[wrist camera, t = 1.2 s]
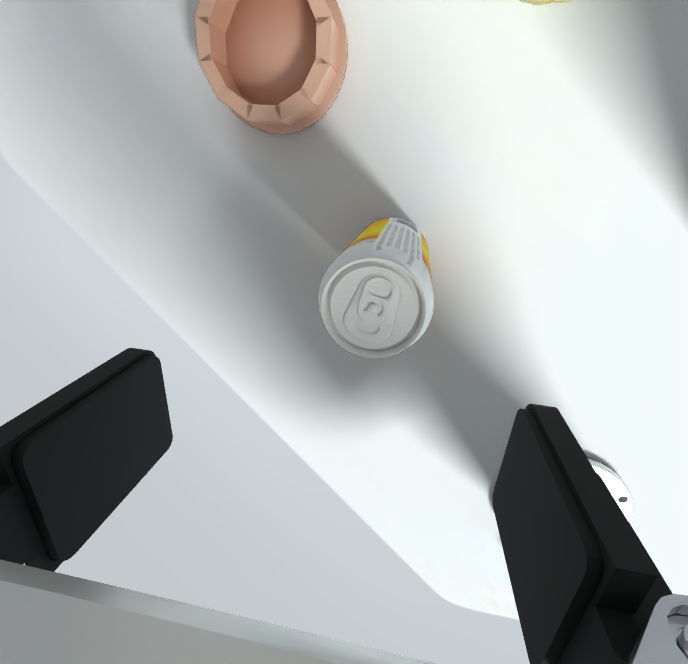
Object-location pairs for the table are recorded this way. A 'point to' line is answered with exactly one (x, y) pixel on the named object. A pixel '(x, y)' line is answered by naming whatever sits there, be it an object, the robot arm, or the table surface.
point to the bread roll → (543, 1)
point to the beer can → (379, 290)
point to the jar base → (273, 58)
